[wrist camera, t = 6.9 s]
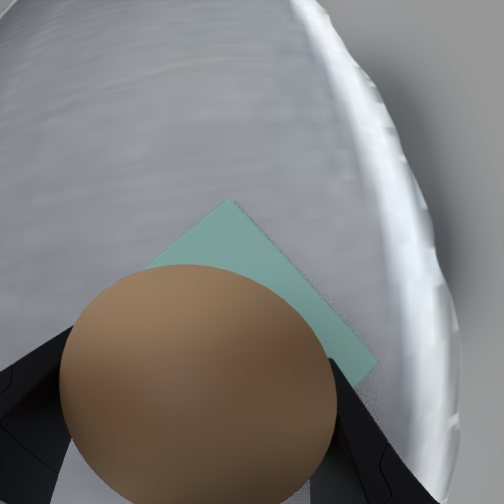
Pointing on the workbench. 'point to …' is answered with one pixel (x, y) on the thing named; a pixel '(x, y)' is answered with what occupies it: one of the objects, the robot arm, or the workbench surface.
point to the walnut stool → (197, 389)
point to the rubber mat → (268, 280)
